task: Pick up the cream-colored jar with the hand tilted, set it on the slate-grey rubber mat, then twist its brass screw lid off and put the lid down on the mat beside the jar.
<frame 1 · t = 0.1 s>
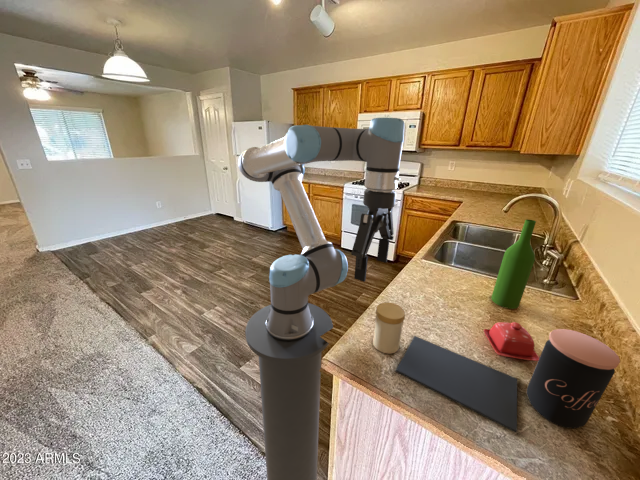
hand: (371, 269, 70), 24 cm above the counter, tool pointing down, fingers open, 13 cm apart
cream-colored jar: (385, 343, 78), on the counter
mat: (455, 375, 68), on the counter
lid: (390, 311, 74), point 11 cm above the counter, screwed on, not yet turned
coffee jar: (553, 408, 61), on the counter
wine bottle: (504, 302, 101), on the counter
butter dish: (508, 347, 79), on the counter
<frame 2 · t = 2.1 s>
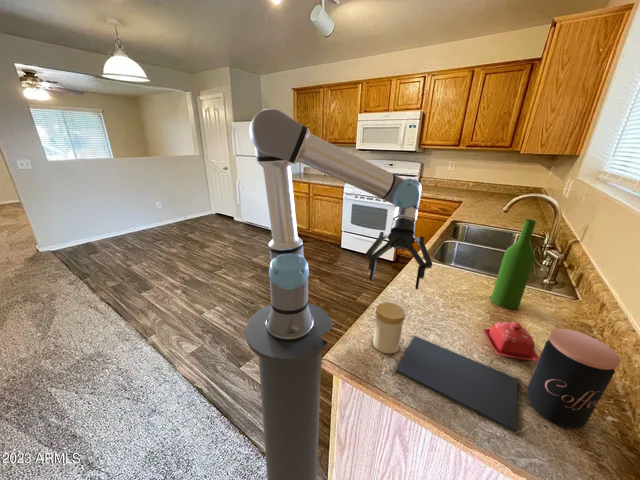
hand: (393, 284, 81), 16 cm above the counter, tool tilted 40°, fingers open, 13 cm apart
nothing on the counter moved.
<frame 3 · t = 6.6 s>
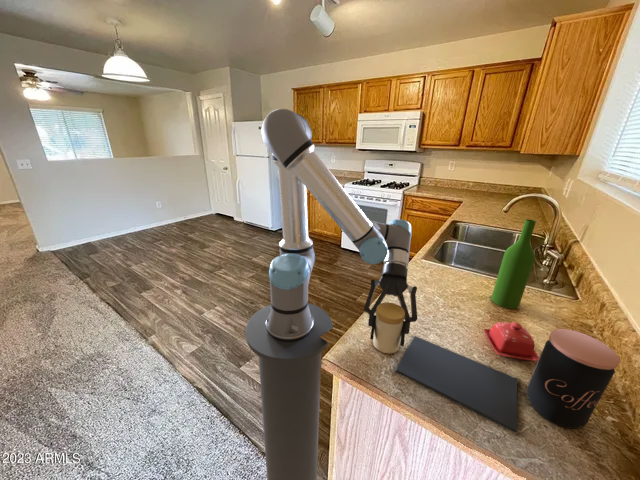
hand: (386, 342, 74), 4 cm above the counter, tool tilted 45°, fingers closed on cream-colored jar, 8 cm apart
cream-colored jar: (385, 343, 78), on the counter, touching gripper
everything else where it was.
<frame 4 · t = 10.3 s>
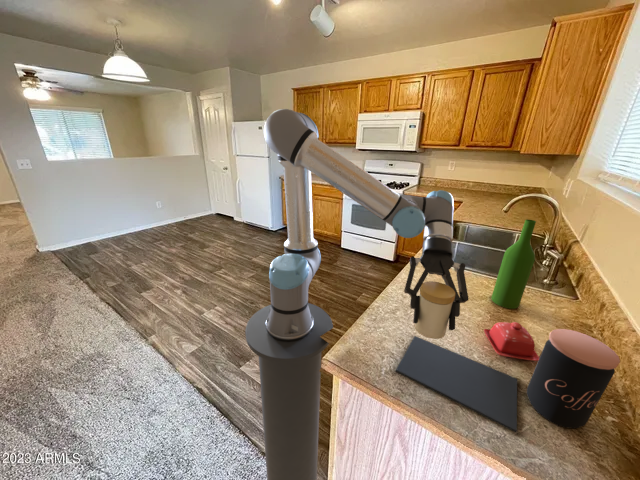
hand: (433, 325, 65), 14 cm above the counter, tool tilted 45°, fingers closed on cream-colored jar, 8 cm apart
cream-colored jar: (429, 328, 69), point 11 cm above the counter, touching gripper
lid: (437, 290, 65), point 22 cm above the counter, screwed on, not yet turned
everything else where it was.
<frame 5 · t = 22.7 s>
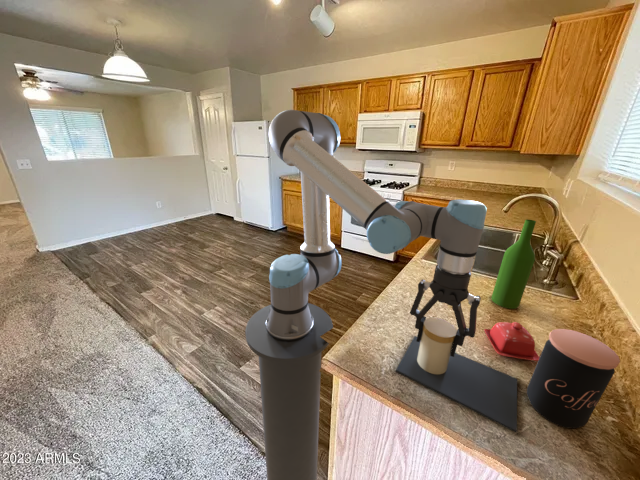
hand: (435, 345, 69), 7 cm above the counter, tool pointing down, fingers closed on lid, 8 cm apart
cream-colored jar: (431, 362, 71), point 1 cm above the counter, touching mat
lid: (439, 328, 67), point 12 cm above the counter, screwed on, not yet turned, touching gripper
everything else where it was.
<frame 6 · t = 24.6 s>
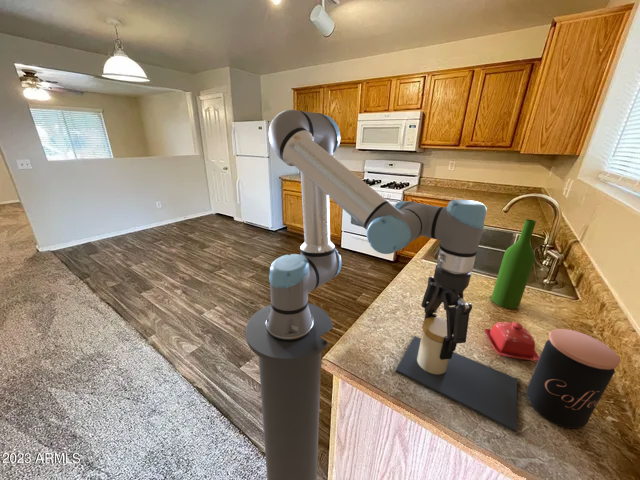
hand: (435, 345, 69), 7 cm above the counter, tool pointing down, fingers closed on lid, 8 cm apart
lid: (439, 327, 67), point 12 cm above the counter, off its thread, touching gripper
everything else where it was.
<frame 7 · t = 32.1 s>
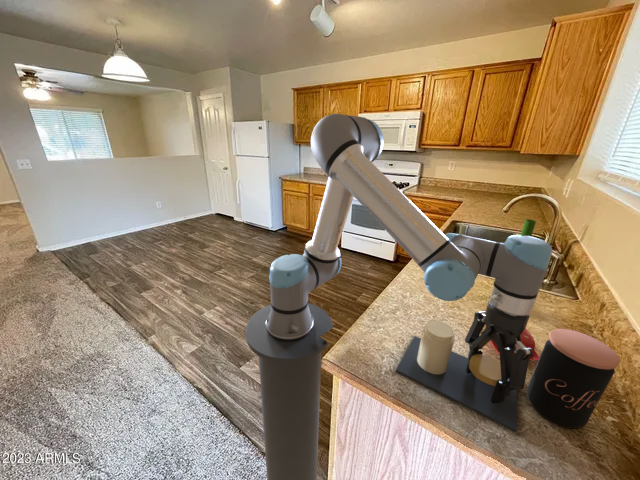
hand: (483, 385, 65), 1 cm above the counter, tool pointing down, fingers closed on lid, 8 cm apart
lid: (488, 367, 63), point 7 cm above the counter, off its thread, touching gripper
everything else where it was.
when the fingers open (2 cm above the counter, at t = 41.7 s): lid drops 6 cm, resting on mat.
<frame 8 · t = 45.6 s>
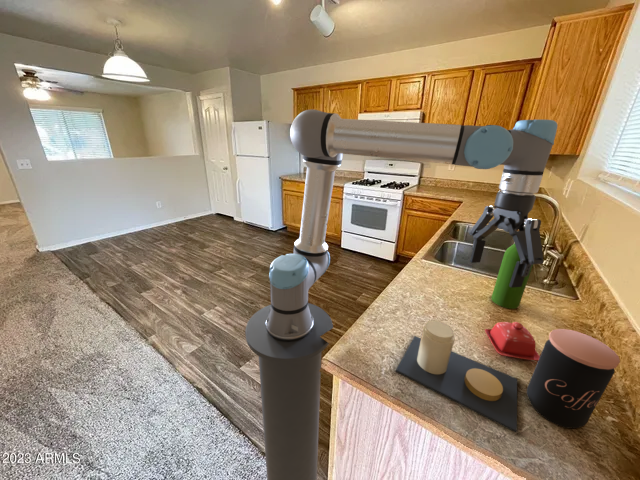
hand: (493, 273, 69), 25 cm above the counter, tool pointing down, fingers open, 13 cm apart
lid: (483, 382, 64), point 2 cm above the counter, off its thread, touching mat
everything else where it was.
at the end: cream-colored jar inside the target area (0.1 cm from its centre), point 0.6 cm above the counter; lid came off its thread; lid inside the target area (0.1 cm from its centre), point 1.9 cm above the counter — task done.
